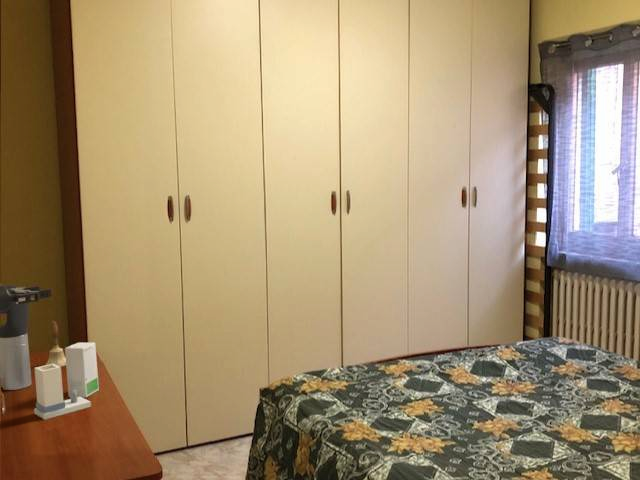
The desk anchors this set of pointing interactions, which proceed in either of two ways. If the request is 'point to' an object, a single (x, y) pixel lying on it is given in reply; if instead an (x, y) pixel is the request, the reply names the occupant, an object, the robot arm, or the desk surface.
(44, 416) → the pin board
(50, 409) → the sleeve
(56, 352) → the hand bell
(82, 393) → the skincare box
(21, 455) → the desk surface
